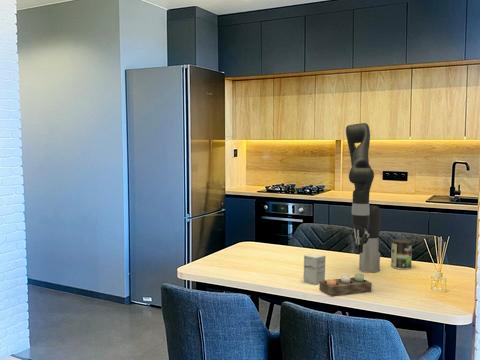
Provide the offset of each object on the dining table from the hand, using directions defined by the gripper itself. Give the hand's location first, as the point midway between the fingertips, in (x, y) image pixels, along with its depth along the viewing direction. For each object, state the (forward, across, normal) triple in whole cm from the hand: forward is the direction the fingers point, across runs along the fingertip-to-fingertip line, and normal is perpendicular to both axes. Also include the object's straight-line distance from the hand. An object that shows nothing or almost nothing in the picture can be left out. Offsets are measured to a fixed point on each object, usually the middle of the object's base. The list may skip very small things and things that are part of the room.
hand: (359, 252), depth 210 cm
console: (+16, 0, +7) cm, 18 cm away
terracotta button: (+15, 0, +14) cm, 20 cm away
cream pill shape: (+13, 0, +7) cm, 15 cm away
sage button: (+13, 0, 0) cm, 13 cm away
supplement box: (+17, +17, +13) cm, 27 cm away
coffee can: (+17, +26, -43) cm, 53 cm away
